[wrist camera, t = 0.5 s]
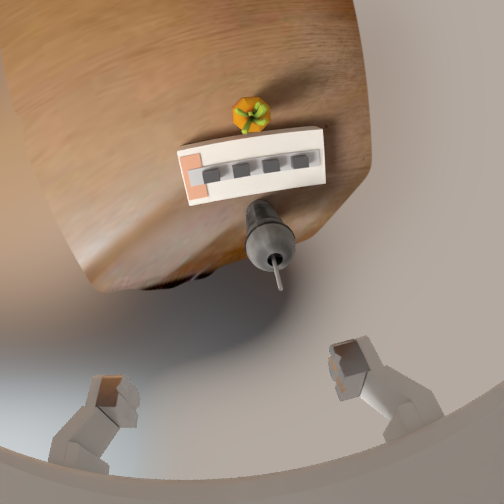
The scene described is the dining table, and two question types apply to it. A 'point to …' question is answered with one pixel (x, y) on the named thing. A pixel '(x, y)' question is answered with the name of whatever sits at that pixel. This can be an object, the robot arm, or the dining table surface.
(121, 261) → the dining table surface
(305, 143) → the breaker panel
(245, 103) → the carrot
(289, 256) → the beverage cup
